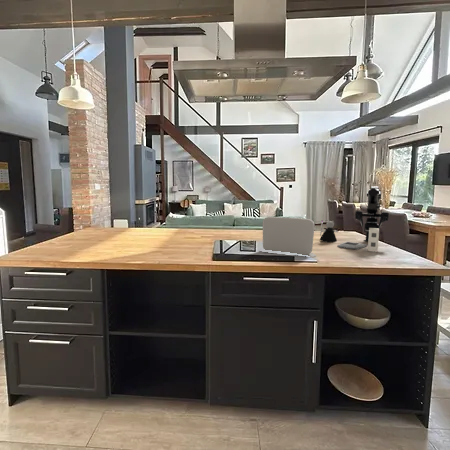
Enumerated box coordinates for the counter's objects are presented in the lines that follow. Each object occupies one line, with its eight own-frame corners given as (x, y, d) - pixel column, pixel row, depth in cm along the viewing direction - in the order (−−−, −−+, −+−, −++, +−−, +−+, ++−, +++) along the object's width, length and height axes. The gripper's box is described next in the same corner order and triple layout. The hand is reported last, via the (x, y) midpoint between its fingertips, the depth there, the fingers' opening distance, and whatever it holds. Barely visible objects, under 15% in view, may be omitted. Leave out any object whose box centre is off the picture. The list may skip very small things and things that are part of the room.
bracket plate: (347, 243, 211) (348, 239, 211) (366, 246, 203) (367, 242, 203) (336, 247, 199) (337, 243, 199) (356, 250, 191) (356, 245, 191)
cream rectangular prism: (367, 249, 193) (369, 227, 192) (376, 250, 192) (378, 228, 190) (368, 251, 189) (369, 228, 187) (377, 251, 187) (379, 229, 185)
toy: (335, 238, 222) (338, 218, 215) (337, 243, 216) (340, 223, 209) (317, 238, 223) (320, 218, 217) (319, 243, 217) (322, 222, 210)
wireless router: (317, 254, 177) (319, 218, 175) (314, 258, 168) (316, 220, 166) (262, 249, 190) (263, 215, 188) (257, 252, 181) (258, 216, 179)
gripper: (356, 197, 202) (353, 218, 194) (389, 198, 194) (388, 220, 186) (356, 208, 210) (354, 228, 203) (388, 209, 202) (387, 230, 195)
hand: (370, 227), depth 197 cm, fingers open, 9 cm apart
